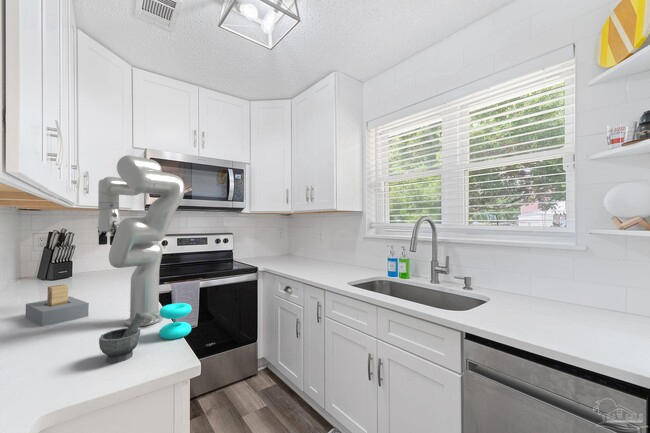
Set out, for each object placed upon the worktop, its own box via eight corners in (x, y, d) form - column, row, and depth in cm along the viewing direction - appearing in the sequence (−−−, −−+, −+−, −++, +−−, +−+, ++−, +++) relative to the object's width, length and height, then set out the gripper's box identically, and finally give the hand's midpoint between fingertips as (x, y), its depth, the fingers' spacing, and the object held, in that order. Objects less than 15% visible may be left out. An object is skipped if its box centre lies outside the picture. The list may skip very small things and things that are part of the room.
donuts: (152, 307, 98) (179, 300, 107) (152, 337, 98) (178, 327, 107) (172, 312, 94) (197, 304, 103) (171, 342, 94) (197, 332, 103)
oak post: (67, 314, 119) (68, 285, 120) (51, 318, 115) (52, 288, 115) (62, 312, 122) (63, 284, 122) (47, 316, 118) (47, 286, 118)
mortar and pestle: (101, 369, 77) (102, 324, 77) (95, 358, 83) (96, 316, 83) (149, 356, 85) (150, 314, 85) (141, 346, 91) (141, 308, 91)
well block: (88, 316, 119) (88, 302, 120) (42, 326, 107) (42, 311, 108) (69, 308, 130) (69, 296, 130) (25, 317, 118) (25, 303, 118)
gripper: (128, 206, 130) (128, 244, 129) (108, 208, 138) (108, 243, 138) (109, 205, 123) (109, 245, 123) (89, 207, 131) (89, 245, 131)
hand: (108, 244), depth 130 cm, fingers open, 9 cm apart
